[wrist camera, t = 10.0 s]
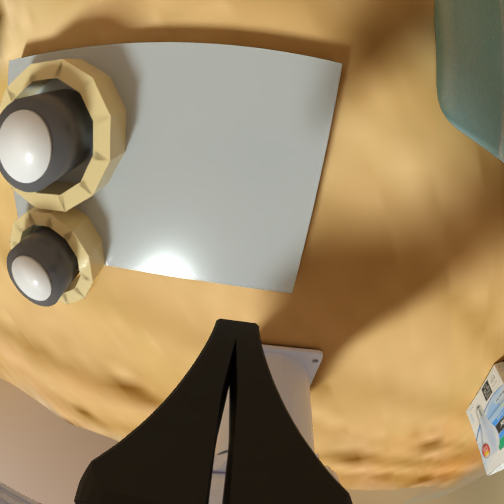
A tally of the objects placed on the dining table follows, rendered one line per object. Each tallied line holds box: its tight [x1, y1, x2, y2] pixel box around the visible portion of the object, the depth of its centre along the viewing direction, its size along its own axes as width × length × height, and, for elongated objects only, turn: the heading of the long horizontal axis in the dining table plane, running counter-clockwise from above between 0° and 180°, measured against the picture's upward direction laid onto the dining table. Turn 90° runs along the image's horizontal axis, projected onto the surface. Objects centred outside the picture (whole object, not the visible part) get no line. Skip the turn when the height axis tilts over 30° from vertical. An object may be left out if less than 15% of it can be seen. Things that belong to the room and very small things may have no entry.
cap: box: [0, 89, 93, 192], centre depth 14 cm, size 5×5×4 cm
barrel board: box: [0, 42, 342, 306], centre depth 16 cm, size 16×20×5 cm
